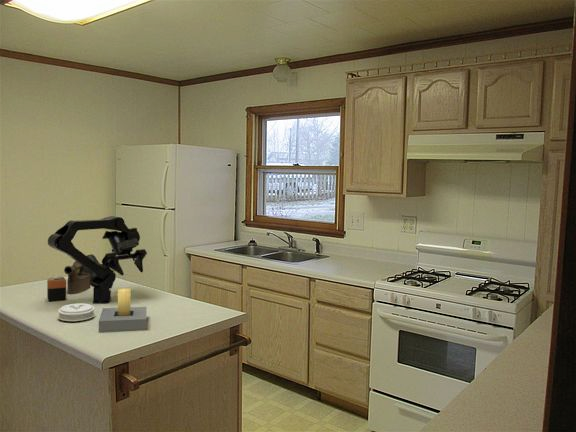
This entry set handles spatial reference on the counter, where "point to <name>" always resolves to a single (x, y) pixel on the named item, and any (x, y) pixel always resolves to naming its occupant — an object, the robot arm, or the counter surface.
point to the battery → (56, 289)
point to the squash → (87, 269)
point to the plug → (124, 302)
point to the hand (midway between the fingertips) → (132, 273)
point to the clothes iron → (77, 279)
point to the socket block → (122, 320)
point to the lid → (76, 312)
